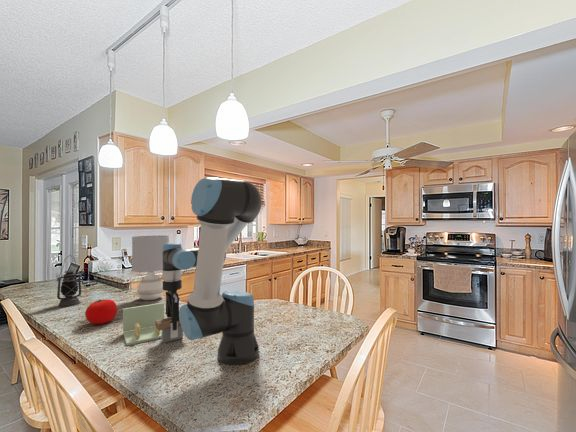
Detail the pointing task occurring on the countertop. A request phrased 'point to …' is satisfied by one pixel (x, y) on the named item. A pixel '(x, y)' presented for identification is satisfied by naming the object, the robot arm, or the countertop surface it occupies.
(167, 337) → the block
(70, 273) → the lantern
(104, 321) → the tomato
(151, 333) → the cabinet
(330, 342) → the countertop surface
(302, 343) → the countertop surface
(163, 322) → the shelf board
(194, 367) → the countertop surface
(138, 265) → the lamp
